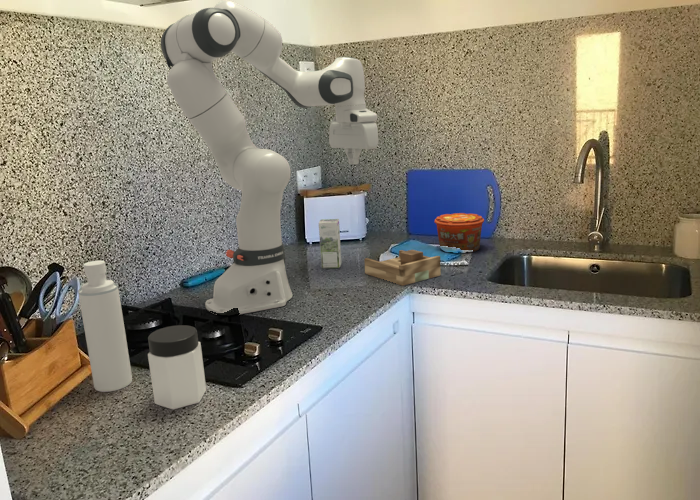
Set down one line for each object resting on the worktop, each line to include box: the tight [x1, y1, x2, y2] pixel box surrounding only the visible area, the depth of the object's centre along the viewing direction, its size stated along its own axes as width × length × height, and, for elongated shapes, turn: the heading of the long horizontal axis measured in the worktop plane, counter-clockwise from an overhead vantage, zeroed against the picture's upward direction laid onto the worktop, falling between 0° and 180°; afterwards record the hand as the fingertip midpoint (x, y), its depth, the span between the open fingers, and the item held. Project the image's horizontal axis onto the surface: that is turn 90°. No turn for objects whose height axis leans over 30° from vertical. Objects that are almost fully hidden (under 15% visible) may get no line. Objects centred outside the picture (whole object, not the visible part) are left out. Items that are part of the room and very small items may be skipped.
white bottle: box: [77, 259, 133, 393], centre depth 109 cm, size 7×7×25 cm
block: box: [400, 249, 424, 265], centre depth 169 cm, size 4×4×4 cm
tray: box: [363, 249, 442, 286], centre depth 172 cm, size 14×17×6 cm
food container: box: [433, 212, 485, 253], centre depth 197 cm, size 16×16×11 cm
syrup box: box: [318, 218, 342, 269], centre depth 184 cm, size 6×6×14 cm
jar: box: [147, 324, 207, 411], centre depth 104 cm, size 9×8×12 cm
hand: (353, 164), depth 176 cm, fingers closed
